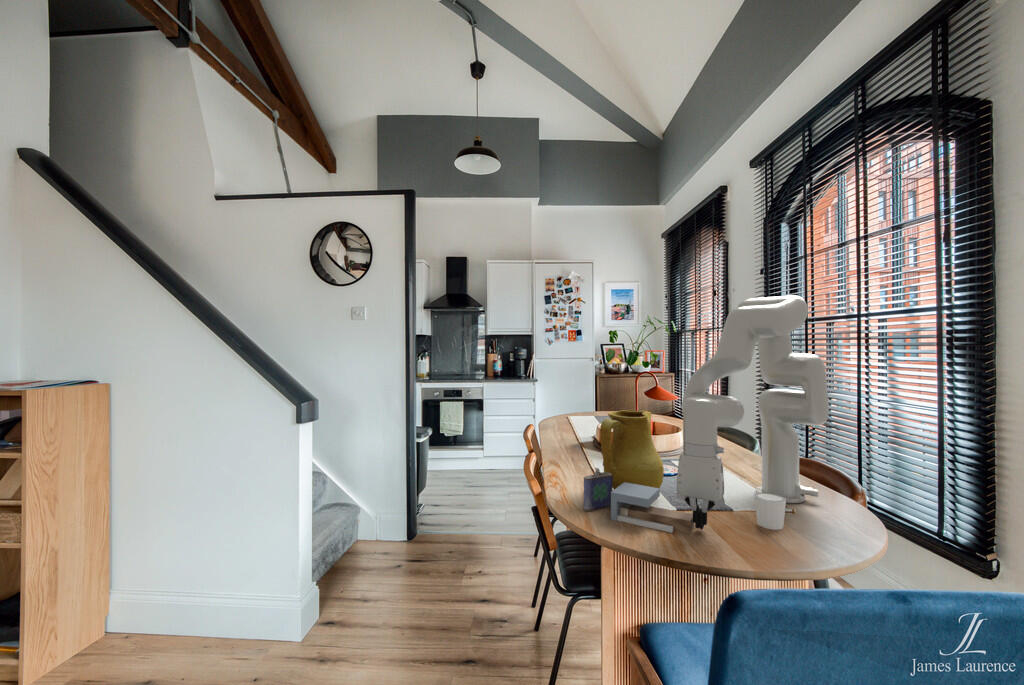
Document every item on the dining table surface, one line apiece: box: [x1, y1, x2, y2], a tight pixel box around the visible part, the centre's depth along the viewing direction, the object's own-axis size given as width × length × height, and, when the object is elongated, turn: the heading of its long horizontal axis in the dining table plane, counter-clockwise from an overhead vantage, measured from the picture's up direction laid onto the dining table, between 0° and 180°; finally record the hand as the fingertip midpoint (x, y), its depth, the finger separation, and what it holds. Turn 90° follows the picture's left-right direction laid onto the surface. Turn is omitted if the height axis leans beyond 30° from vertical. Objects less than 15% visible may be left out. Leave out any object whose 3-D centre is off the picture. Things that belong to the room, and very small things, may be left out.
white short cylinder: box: [754, 493, 787, 531], centre depth 111 cm, size 7×7×7 cm
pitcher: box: [599, 409, 665, 491], centre depth 132 cm, size 17×19×25 cm
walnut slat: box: [620, 503, 695, 534], centre depth 112 cm, size 17×5×3 cm, turn 60°
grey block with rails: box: [610, 482, 674, 534], centre depth 114 cm, size 15×10×7 cm, turn 57°
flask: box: [583, 467, 613, 513], centre depth 122 cm, size 9×3×11 cm, turn 117°
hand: (699, 526), depth 106 cm, fingers closed
